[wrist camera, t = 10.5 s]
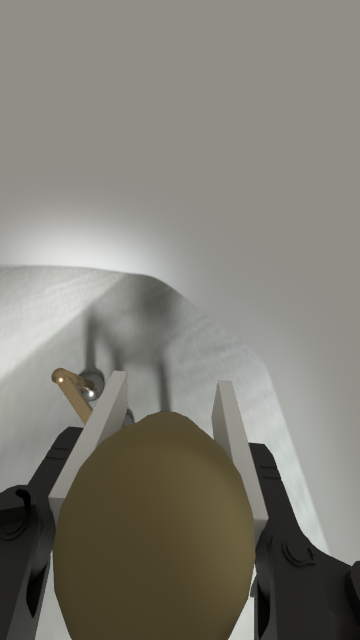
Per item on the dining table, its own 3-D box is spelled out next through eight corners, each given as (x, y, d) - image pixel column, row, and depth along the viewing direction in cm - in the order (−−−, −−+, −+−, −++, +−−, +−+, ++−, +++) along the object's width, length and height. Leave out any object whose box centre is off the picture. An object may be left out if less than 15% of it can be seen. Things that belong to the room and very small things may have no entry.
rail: (60, 433, 28) (12, 440, 20) (81, 370, 31) (48, 353, 22) (180, 457, 27) (184, 474, 19) (190, 390, 30) (197, 381, 22)
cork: (105, 435, 15) (-20, 469, 5) (187, 396, 17) (214, 363, 6) (136, 541, 13) (33, 927, 3) (228, 488, 15) (361, 652, 4)
